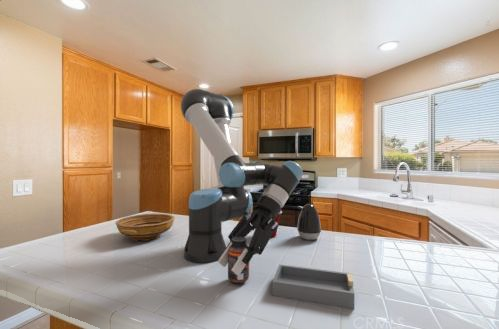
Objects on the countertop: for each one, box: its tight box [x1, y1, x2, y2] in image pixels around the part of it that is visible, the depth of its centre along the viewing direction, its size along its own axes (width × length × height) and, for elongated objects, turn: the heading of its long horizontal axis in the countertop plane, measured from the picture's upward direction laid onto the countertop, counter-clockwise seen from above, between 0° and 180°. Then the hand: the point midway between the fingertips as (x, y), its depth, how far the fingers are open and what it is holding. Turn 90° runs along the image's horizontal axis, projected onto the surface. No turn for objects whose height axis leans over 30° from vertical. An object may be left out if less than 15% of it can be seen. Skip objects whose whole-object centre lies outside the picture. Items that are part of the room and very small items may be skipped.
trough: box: [272, 264, 355, 310], centre depth 62 cm, size 19×10×5 cm, turn 73°
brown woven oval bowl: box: [115, 213, 176, 241], centre depth 107 cm, size 30×24×8 cm
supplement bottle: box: [227, 237, 250, 284], centre depth 67 cm, size 6×6×11 cm
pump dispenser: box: [296, 203, 322, 241], centre depth 105 cm, size 10×10×15 cm
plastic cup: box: [270, 210, 283, 239], centre depth 108 cm, size 11×11×12 cm
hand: (227, 268), depth 65 cm, fingers closed on supplement bottle, 6 cm apart
